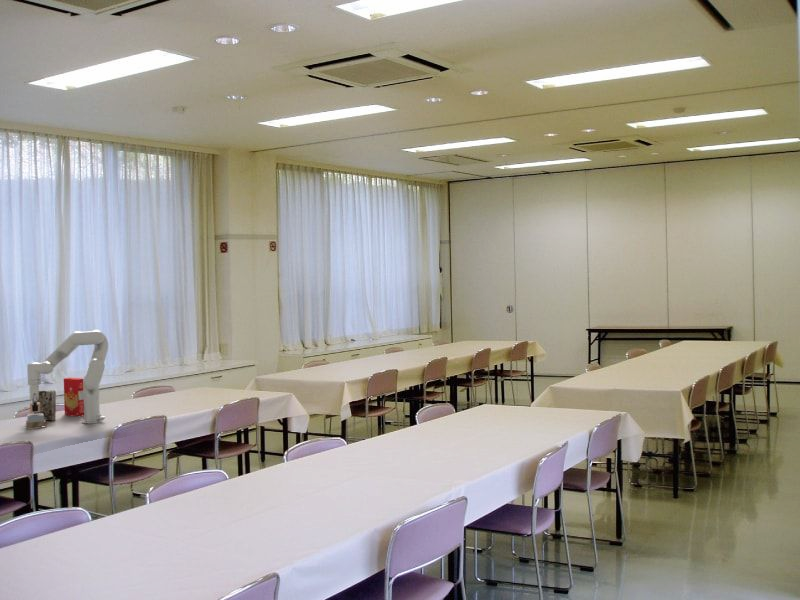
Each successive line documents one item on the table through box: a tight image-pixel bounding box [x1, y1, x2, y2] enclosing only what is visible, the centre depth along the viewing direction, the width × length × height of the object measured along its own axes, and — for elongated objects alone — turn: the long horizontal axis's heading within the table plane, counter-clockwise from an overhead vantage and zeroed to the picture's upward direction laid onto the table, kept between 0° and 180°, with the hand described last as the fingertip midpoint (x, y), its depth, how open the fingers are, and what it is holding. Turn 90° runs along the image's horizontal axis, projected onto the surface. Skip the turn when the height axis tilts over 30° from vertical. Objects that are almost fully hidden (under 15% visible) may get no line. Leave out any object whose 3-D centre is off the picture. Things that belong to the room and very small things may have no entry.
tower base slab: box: [25, 419, 47, 429], centre depth 514 cm, size 11×11×4 cm
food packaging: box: [63, 377, 84, 417], centre depth 553 cm, size 15×5×25 cm, turn 60°
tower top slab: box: [26, 413, 44, 423], centre depth 514 cm, size 9×9×4 cm
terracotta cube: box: [29, 402, 40, 414], centre depth 513 cm, size 6×6×6 cm
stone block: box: [33, 389, 57, 421], centre depth 535 cm, size 13×7×20 cm, turn 92°
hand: (35, 410), depth 513 cm, fingers closed on terracotta cube, 5 cm apart
